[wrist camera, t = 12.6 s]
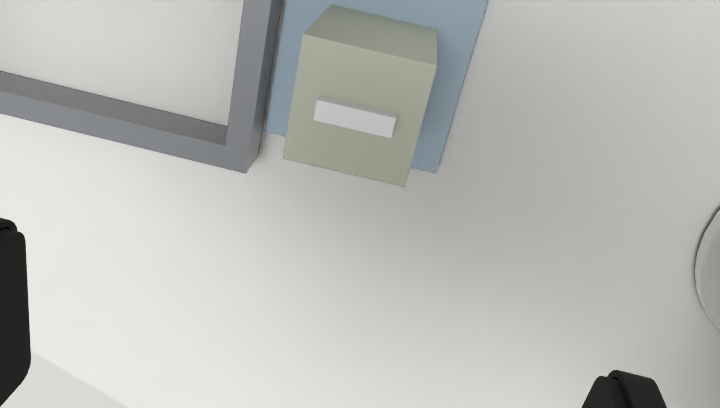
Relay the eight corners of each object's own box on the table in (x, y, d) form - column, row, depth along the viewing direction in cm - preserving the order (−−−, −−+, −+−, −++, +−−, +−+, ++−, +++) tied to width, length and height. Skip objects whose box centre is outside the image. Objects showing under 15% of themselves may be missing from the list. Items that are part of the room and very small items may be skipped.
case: (325, -131, 27) (219, -156, 14) (276, 160, 33) (170, 336, 20) (-98, -235, 27) (-618, -362, 14) (-67, 76, 33) (-402, 197, 20)
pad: (488, -8, 29) (489, -6, 28) (435, 168, 33) (435, 173, 32) (297, -55, 29) (294, -54, 28) (268, 127, 33) (265, 131, 32)
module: (436, 28, 29) (437, 69, 22) (410, 128, 31) (403, 193, 24) (331, 4, 29) (299, 37, 22) (313, 105, 31) (279, 164, 24)
